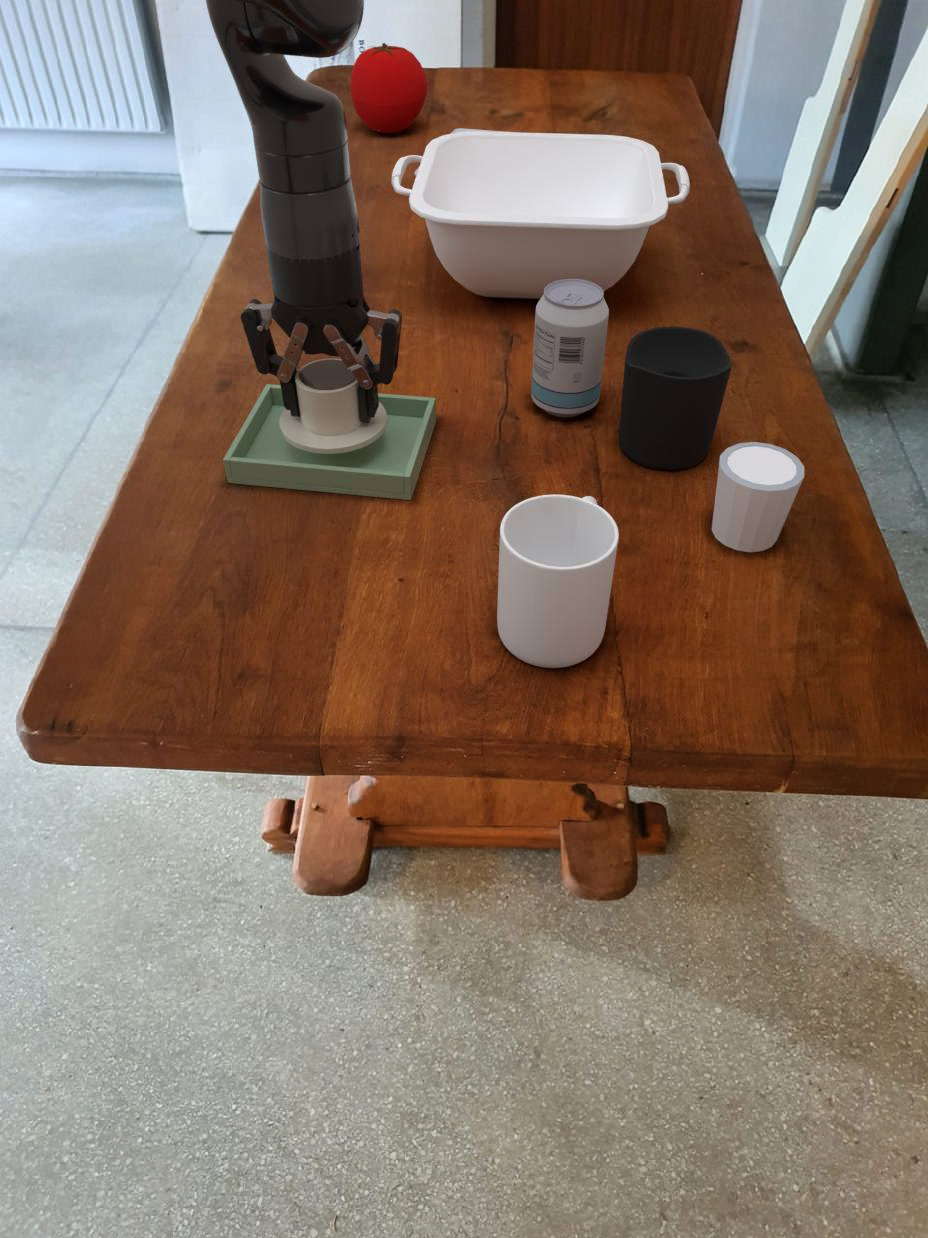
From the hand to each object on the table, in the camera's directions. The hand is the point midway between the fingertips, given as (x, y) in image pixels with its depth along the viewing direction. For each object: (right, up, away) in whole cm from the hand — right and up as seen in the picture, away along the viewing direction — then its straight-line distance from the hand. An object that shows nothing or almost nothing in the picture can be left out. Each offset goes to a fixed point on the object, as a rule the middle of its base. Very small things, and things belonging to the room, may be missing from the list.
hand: (332, 414), depth 88 cm
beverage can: (+22, +3, +9) cm, 24 cm away
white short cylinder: (+36, -11, -6) cm, 39 cm away
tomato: (0, +62, +69) cm, 93 cm away
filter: (0, -1, +1) cm, 1 cm away
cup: (+20, -19, -13) cm, 30 cm away
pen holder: (+31, -2, +3) cm, 32 cm away
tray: (0, -3, +3) cm, 4 cm away
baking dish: (+21, +24, +30) cm, 43 cm away
